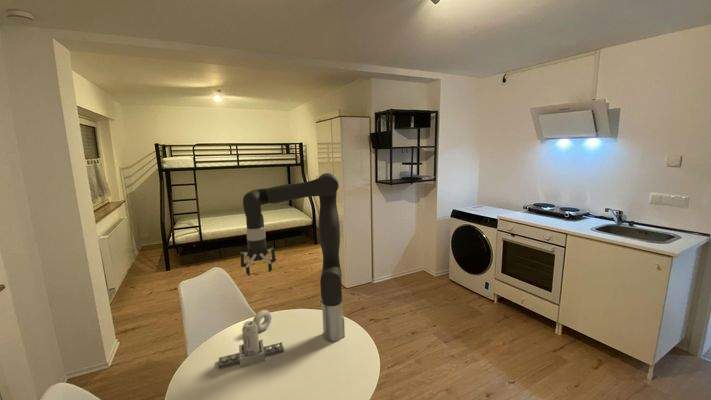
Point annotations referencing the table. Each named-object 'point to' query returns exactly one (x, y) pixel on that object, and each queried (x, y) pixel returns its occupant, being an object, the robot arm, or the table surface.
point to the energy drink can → (250, 338)
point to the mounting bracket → (250, 359)
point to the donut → (267, 319)
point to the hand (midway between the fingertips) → (259, 273)
